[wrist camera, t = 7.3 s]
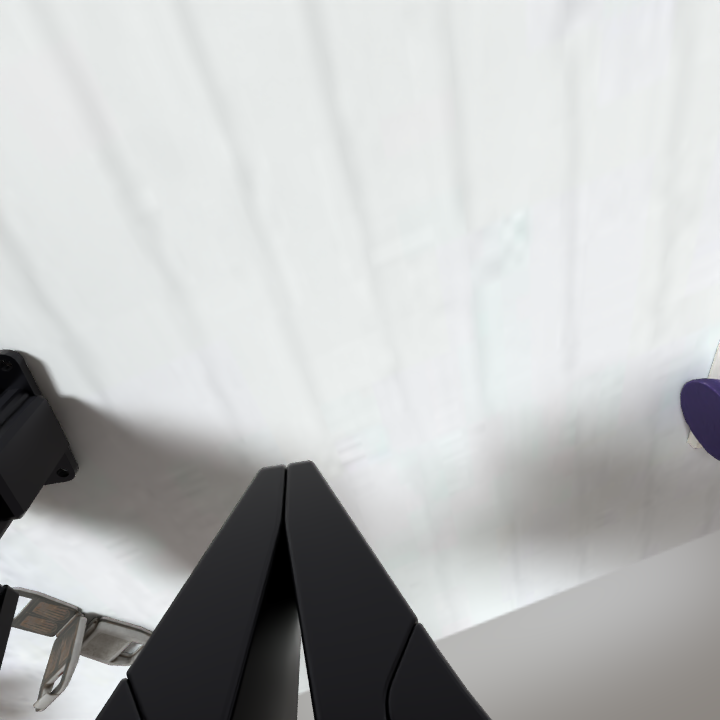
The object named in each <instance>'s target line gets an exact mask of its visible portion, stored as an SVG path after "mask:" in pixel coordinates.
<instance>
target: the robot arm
mask: <svg viewBox="0 0 720 720" xmlns="http://www.w3.org/2000/svg"><path fill="white" fill-rule="evenodd" d="M3 360H7V361H9V362H10V363H11V364H12V366H8V365H6V364H5V363H4V362H3ZM62 469H66V470H67V471H64V470H62ZM78 469H79V467H78V464H77V462H76V460H75V458H74V456H73V454H72V452H71V450H70V449H69V443H68V441H67V439H66V437H65V435H64V433H63V431H62V429H61V427H60V425H59V423H58V421H57V419H56V417H55V415H54V413H53V411H52V409H51V407H50V405H49V403H48V401H47V400H46V399H45V398H44V397H43V396H42V394H41V392H40V390H39V388H38V386H37V384H36V382H35V380H34V378H33V376H32V374H31V372H30V370H29V368H28V366H27V364H26V362H25V360H24V359H23V357H22V356H21V355H20V354H19V353H17V352H15V351H12V350H0V539H1V537H2V536H3V534H4V533H5V531H6V530H7V528H8V527H9V525H10V524H11V522H12V521H13V520H15V519H21V518H22V517H23V516H24V514H25V513H26V511H27V510H28V508H29V507H30V505H31V504H32V502H33V500H34V499H35V497H36V496H37V494H38V493H39V491H40V490H41V488H42V487H43V485H48V484H54V483H60V482H66V481H70V480H72V479H73V478H74V477H75V475H76V473H77V472H78ZM18 598H19V592H17V591H16V590H14V589H13V588H11V587H10V586H8V585H3V586H2V585H1V584H0V669H1V665H2V661H3V657H4V653H5V649H6V645H7V641H8V637H9V634H10V630H11V626H12V622H13V618H14V614H15V610H16V606H17V602H18ZM301 637H302V643H303V649H304V656H305V662H306V668H307V675H308V681H309V687H310V693H311V700H312V707H313V712H314V719H315V720H491V718H490V717H489V716H488V715H487V713H486V712H485V711H484V710H483V708H482V707H481V706H480V705H479V703H478V702H477V701H476V700H475V698H474V697H473V696H472V695H471V693H470V692H469V691H468V690H467V688H466V687H465V685H464V684H463V683H462V681H461V680H460V678H459V677H458V676H457V674H456V673H455V671H454V670H453V669H452V667H451V666H450V664H449V663H448V662H447V660H446V659H445V657H444V656H443V655H442V653H441V652H440V650H439V649H438V648H437V646H436V645H435V643H434V642H433V640H432V639H431V637H430V636H429V634H428V633H427V631H426V630H425V628H424V627H423V625H422V624H421V623H418V619H417V617H416V615H415V614H414V612H413V611H412V609H411V608H410V606H409V605H408V603H407V602H406V600H405V599H404V597H403V596H402V594H401V593H400V591H399V590H398V588H397V587H396V585H395V584H394V582H393V581H392V579H391V578H390V576H389V575H388V573H387V572H386V570H385V569H384V567H383V566H382V564H381V563H380V561H379V560H378V558H377V557H376V555H375V554H374V552H373V551H372V549H371V548H370V546H369V545H368V543H367V542H366V540H365V539H364V537H363V536H362V534H361V533H360V531H359V530H358V528H357V527H356V525H355V524H354V522H353V521H352V519H351V518H350V516H349V515H348V513H347V512H346V510H345V509H344V507H343V506H342V504H341V503H340V501H339V500H338V498H337V497H336V495H335V494H334V492H333V491H332V489H331V488H330V486H329V485H328V483H327V482H326V480H325V479H324V477H323V476H322V474H321V473H320V471H319V470H318V468H317V467H316V465H315V464H314V463H313V462H312V461H310V460H308V461H302V462H295V463H290V464H289V465H288V467H286V466H285V465H276V466H270V467H264V468H262V469H260V470H259V471H258V473H257V474H256V476H255V477H254V479H253V481H252V482H251V484H250V485H249V487H248V488H247V490H246V491H245V493H244V494H243V496H242V497H241V499H240V500H239V502H238V503H237V505H236V506H235V508H234V509H233V511H232V513H231V514H230V516H229V517H228V519H227V520H226V522H225V523H224V525H223V526H222V528H221V529H220V531H219V532H218V534H217V535H216V537H215V538H214V540H213V541H212V543H211V545H210V546H209V548H208V549H207V551H206V552H205V554H204V555H203V557H202V558H201V560H200V561H199V563H198V564H197V566H196V567H195V569H194V570H193V572H192V573H191V575H190V577H189V578H188V580H187V581H186V583H185V584H184V586H183V587H182V589H181V590H180V592H179V593H178V595H177V596H176V598H175V599H174V601H173V602H172V604H171V605H170V607H169V609H168V610H167V612H166V613H165V615H164V616H163V618H162V619H161V621H160V622H159V624H158V625H157V627H156V628H155V630H154V631H153V633H152V634H151V636H150V637H149V639H148V641H147V642H146V644H145V645H144V647H143V648H142V650H141V651H140V653H139V654H138V656H137V657H136V659H135V660H134V662H133V663H132V665H131V666H130V668H129V669H128V671H127V678H128V679H127V678H124V679H122V680H121V681H120V683H119V684H118V686H117V687H116V689H115V690H114V692H113V693H112V695H111V696H110V698H109V699H108V701H107V702H106V704H105V706H104V707H103V709H102V710H101V712H100V713H99V715H98V716H97V718H96V719H95V720H297V707H298V706H297V705H298V686H299V665H300V644H301Z"/></svg>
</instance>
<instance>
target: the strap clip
mask: <svg viewBox="0 0 720 720" xmlns="http://www.w3.org/2000/svg"><path fill="white" fill-rule="evenodd" d="M13 589H14V590H16V591H17V592H19V596H23V597H27V598H31V600H30V602H29V603H28V604H27V605H26V606H25V607H24V608H23V609H22V610H21V612H20V613H19V614H18V615H17V616H16V617H15V618H14V619H13V622H12V626H11V627H15V628H18V629H22V630H26V631H30V632H34V633H38V634H41V635H45V636H49V637H53V636H55V635H56V637H57V639H56V640H55V642H54V644H53V647H52V651H51V654H50V657H49V660H48V664H47V667H46V670H45V674H44V677H43V680H42V684H41V687H40V691H39V695H38V699H37V702H36V703H35V704H34V705H33V706H34V708H36V711H37V712H41V711H43V710H45V709H46V708H47V707H48V706H49V705H50V704H51V703H52V702H53V701H54V700H55V699H56V698H57V697H58V696H59V695H60V694H61V693H62V692H63V691H64V690H65V689H66V687H67V686H68V684H69V682H70V680H71V677H72V675H73V673H74V670H75V668H76V666H77V663H78V660H79V656H80V655H81V656H84V657H87V658H90V659H93V660H96V661H99V662H102V663H105V664H108V665H117V666H129V665H132V663H133V662H134V660H135V659H136V657H137V656H138V654H139V653H140V651H141V650H142V648H143V647H144V645H145V644H146V642H147V641H148V639H149V637H150V636H151V634H152V633H153V632H151V631H149V630H147V629H145V628H142V627H139V626H136V625H133V624H129V623H126V622H122V621H119V620H116V619H112V618H109V617H101V618H97V617H95V618H94V619H93V620H92V621H91V622H90V623H89V624H88V625H87V626H86V622H87V618H85V617H83V616H84V615H85V614H81V612H79V611H77V610H78V607H76V606H74V605H71V604H69V603H66V602H64V601H61V600H58V599H56V598H53V597H51V596H48V595H45V594H43V593H40V592H37V591H33V590H29V589H25V588H21V587H13ZM132 642H135V643H139V644H143V645H142V646H140V647H139V648H138V649H137V650H136V651H135V652H134V653H132V654H128V653H124V652H123V651H124V650H125V649H126V648H127V647H128V646H129V645H130V644H131V643H132ZM62 674H63V675H62ZM61 675H62V678H61V681H60V683H59V685H58V686H57V687H56V688H55V689H54V690H53V691H52V688H53V685H54V682H55V681H56V680H57V679H58V678H59V677H60V676H61ZM51 691H52V692H51Z"/></svg>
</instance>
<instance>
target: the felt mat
mask: <svg viewBox="0 0 720 720" xmlns="http://www.w3.org/2000/svg"><path fill="white" fill-rule="evenodd" d="M708 379H719V380H720V342H719V345H718V348H717V351H716V354H715V357H714V360H713V363H712V366H711V370H710V373H709V376H708ZM687 443H689V444H690V445H691V446H692V447H694V448H695V449H697V448H703V446H702V445H701V444H700V443H699V442H698V440H697V439H696V438H695V436H694V435H693V433H692V432H691V431H690V434H689V437H688V440H687Z"/></svg>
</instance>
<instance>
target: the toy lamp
mask: <svg viewBox="0 0 720 720" xmlns="http://www.w3.org/2000/svg"><path fill="white" fill-rule="evenodd" d="M681 407H682V411H683V414H684V417H685V420H686V422H687V424H688V425H689V428H690V430H691V432H692V433H693V435H694V436H695V438H696V439H697V440H698V442H699V443H700V444H701V445H702V446H703V448H704V449H705V450H706V451H707V452H708V453H709V454H710V455H712V456H713V457H714V458H716V459H717V460H719V461H720V380H719V379H707V378H705V379H696V380H692V381H690V382H687V383H686V384H685V385H684V387H683V389H682V392H681Z"/></svg>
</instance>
